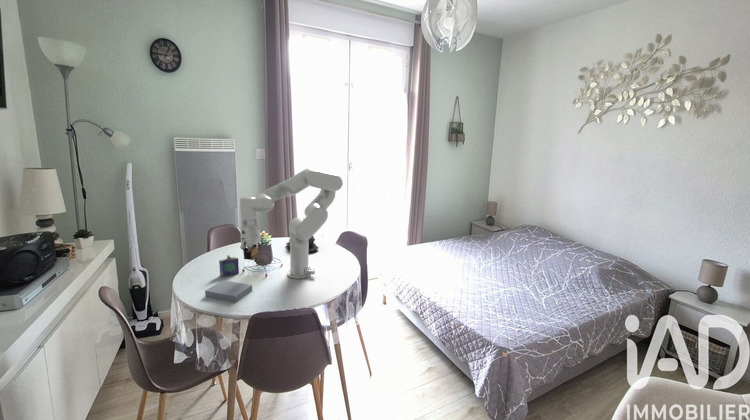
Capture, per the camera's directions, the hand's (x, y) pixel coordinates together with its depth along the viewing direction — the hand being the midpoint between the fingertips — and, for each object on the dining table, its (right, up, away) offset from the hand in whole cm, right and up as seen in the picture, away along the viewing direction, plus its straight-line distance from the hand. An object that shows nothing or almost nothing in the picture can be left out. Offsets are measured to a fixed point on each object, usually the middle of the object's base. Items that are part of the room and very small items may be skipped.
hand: (251, 256), depth 161 cm
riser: (-6, -16, -10) cm, 20 cm away
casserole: (+13, -3, +56) cm, 57 cm away
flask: (-16, -11, +10) cm, 22 cm away
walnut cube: (0, 0, 0) cm, 1 cm away
